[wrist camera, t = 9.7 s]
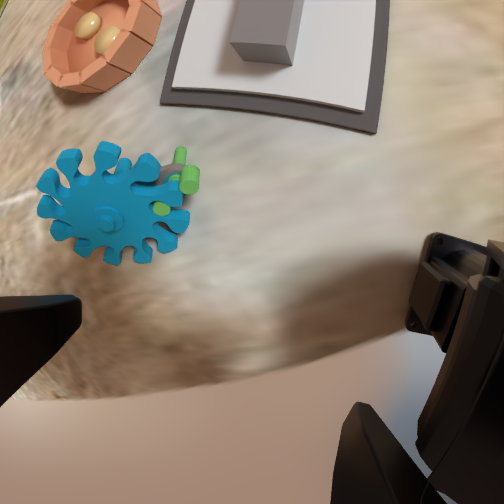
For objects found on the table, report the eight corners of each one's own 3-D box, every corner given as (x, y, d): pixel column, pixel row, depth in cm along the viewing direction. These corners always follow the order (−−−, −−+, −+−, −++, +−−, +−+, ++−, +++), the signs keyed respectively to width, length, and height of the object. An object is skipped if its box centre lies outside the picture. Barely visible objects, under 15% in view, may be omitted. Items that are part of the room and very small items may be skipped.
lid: (376, -32, 13) (381, -61, 10) (363, 113, 16) (371, 96, 13) (213, -42, 16) (196, -68, 12) (176, 89, 18) (148, 74, 15)
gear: (90, 281, 22) (2, 194, 14) (104, 222, 25) (38, 136, 17) (227, 253, 20) (163, 122, 12) (225, 189, 24) (177, 73, 16)
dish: (174, -19, 17) (156, -37, 14) (142, 90, 19) (117, 80, 17) (84, 2, 19) (64, -9, 16) (55, 96, 21) (31, 91, 18)
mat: (389, -34, 13) (390, -37, 13) (375, 134, 17) (376, 133, 16) (206, -46, 16) (204, -49, 15) (162, 103, 19) (159, 102, 19)
